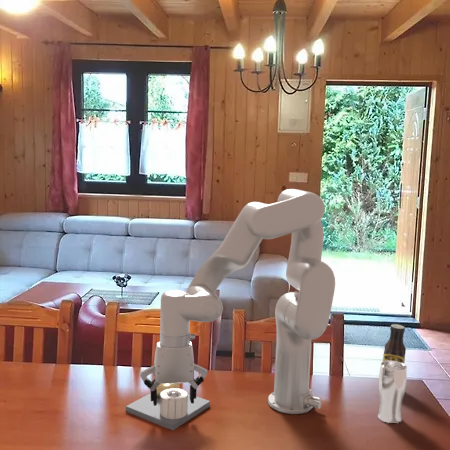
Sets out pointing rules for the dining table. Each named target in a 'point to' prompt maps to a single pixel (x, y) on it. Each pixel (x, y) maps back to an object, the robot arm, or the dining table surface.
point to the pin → (173, 393)
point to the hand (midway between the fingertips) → (173, 402)
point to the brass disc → (166, 386)
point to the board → (152, 413)
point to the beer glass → (391, 390)
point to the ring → (173, 404)
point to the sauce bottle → (395, 345)
